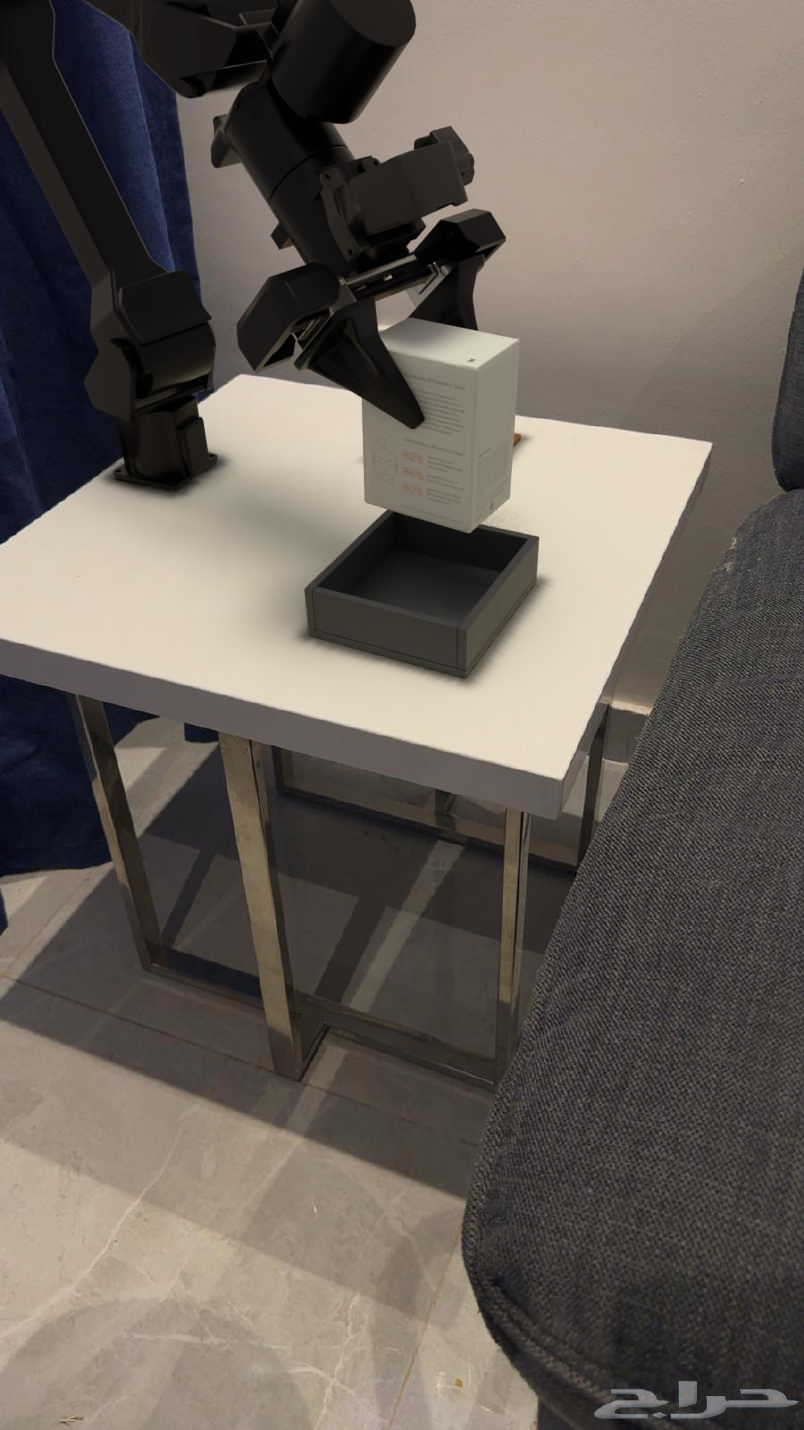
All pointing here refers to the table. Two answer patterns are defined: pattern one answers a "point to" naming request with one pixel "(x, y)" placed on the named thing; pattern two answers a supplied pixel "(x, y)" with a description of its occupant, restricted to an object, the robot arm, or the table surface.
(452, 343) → the small box
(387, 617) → the bin
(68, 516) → the table surface
